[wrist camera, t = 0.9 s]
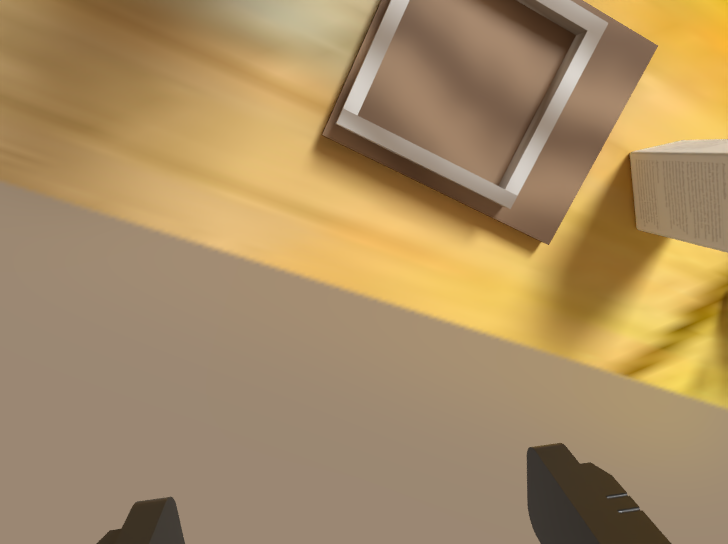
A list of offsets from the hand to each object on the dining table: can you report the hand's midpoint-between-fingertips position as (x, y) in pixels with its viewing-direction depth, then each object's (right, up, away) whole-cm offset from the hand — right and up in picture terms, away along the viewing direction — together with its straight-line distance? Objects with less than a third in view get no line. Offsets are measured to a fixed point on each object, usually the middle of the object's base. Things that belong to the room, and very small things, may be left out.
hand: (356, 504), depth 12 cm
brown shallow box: (+9, +18, +24) cm, 31 cm away
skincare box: (+22, +12, +27) cm, 37 cm away
